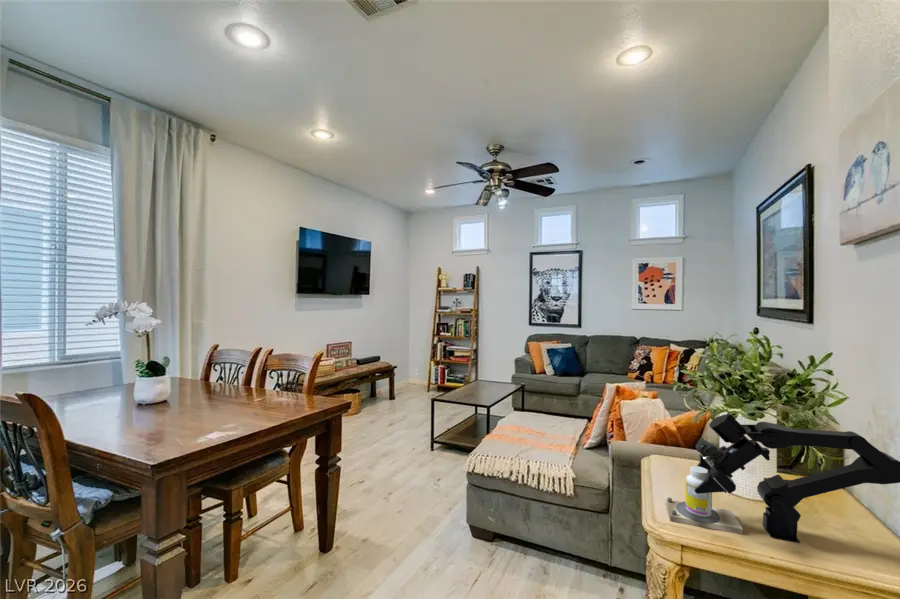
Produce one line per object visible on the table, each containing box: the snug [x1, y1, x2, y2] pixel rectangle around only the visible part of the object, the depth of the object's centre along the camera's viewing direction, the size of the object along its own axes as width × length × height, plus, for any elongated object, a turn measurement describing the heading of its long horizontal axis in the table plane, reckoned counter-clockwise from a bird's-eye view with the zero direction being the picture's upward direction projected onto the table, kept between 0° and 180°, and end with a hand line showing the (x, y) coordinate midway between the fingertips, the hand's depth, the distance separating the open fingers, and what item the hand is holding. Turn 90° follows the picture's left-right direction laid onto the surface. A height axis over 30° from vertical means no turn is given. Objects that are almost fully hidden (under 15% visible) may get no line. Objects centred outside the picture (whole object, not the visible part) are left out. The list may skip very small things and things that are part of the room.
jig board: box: [664, 497, 744, 535], centre depth 119 cm, size 18×11×2 cm, turn 70°
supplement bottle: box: [685, 465, 713, 517], centre depth 119 cm, size 7×7×13 cm
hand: (692, 484), depth 119 cm, fingers open, 9 cm apart
